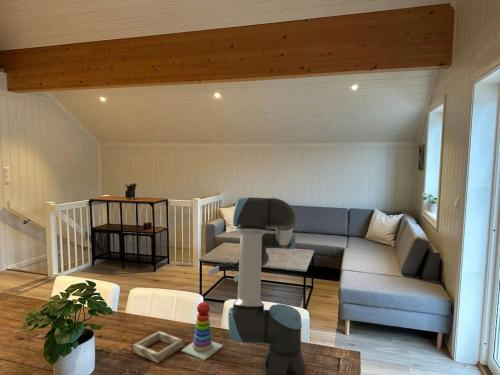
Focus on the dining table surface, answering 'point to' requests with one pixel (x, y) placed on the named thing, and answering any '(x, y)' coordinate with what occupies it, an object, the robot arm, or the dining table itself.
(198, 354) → the sage mat
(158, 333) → the birch holder
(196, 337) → the stacking toy
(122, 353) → the dining table surface
